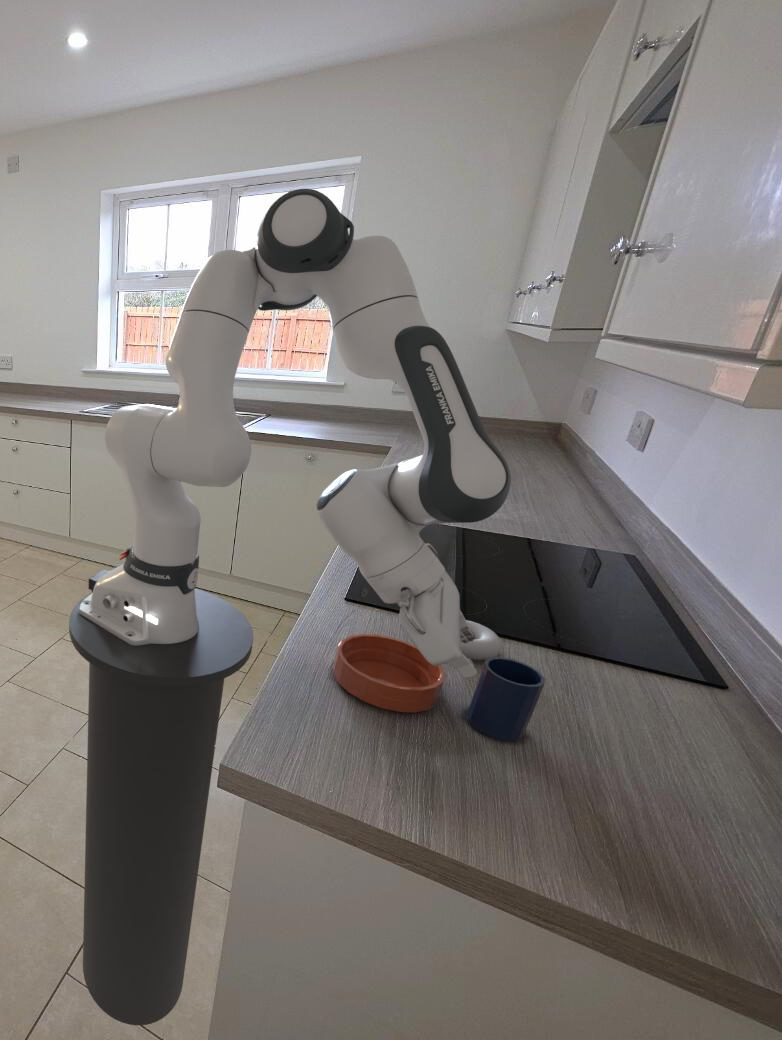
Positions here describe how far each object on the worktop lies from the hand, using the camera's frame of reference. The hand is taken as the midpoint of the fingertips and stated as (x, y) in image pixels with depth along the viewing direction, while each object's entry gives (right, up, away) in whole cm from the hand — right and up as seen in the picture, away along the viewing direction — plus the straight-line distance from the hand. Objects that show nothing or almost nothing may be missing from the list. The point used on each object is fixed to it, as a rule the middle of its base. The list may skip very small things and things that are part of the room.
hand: (470, 655), depth 77 cm
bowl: (-7, -6, +9) cm, 13 cm away
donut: (+12, -2, +18) cm, 22 cm away
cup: (+4, -10, +1) cm, 10 cm away
